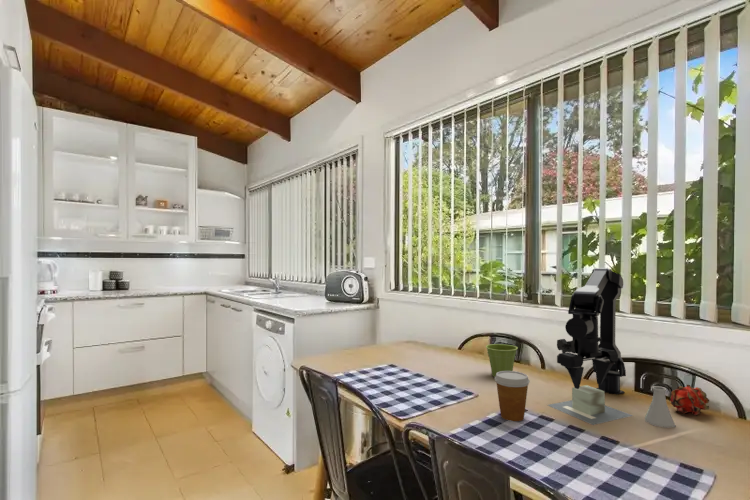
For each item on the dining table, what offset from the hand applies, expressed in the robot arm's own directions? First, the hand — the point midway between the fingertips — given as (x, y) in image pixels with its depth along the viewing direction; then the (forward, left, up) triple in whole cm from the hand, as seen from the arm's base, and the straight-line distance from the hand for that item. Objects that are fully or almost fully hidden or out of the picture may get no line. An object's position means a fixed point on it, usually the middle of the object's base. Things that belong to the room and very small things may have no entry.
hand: (588, 386), depth 119 cm
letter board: (0, 0, -8) cm, 8 cm away
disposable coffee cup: (+23, -6, -8) cm, 25 cm away
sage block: (0, 0, -7) cm, 7 cm away
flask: (-10, +14, -8) cm, 19 cm away
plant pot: (-1, -39, -8) cm, 40 cm away
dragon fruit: (-26, +12, -8) cm, 30 cm away
